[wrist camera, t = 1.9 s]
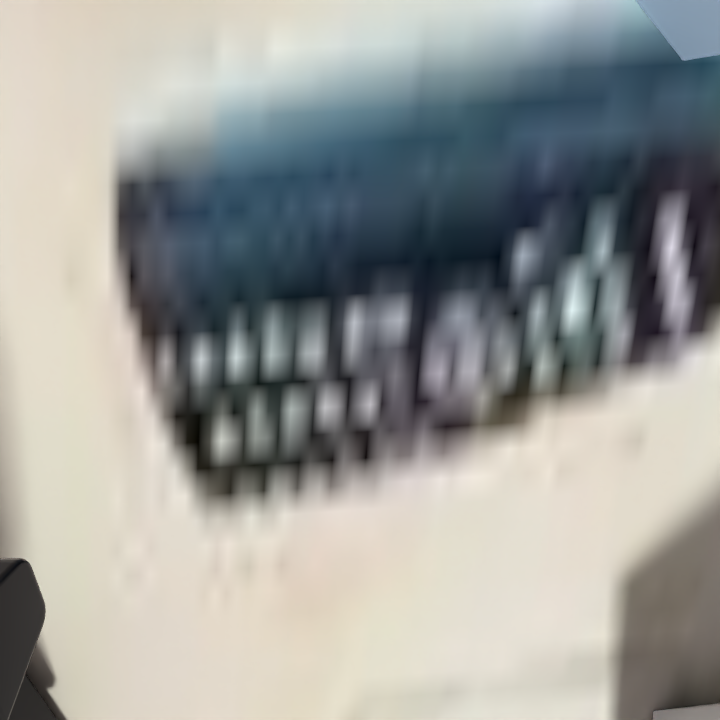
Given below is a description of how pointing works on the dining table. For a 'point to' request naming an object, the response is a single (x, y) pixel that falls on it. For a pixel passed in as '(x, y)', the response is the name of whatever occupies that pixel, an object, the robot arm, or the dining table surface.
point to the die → (689, 713)
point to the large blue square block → (687, 25)
